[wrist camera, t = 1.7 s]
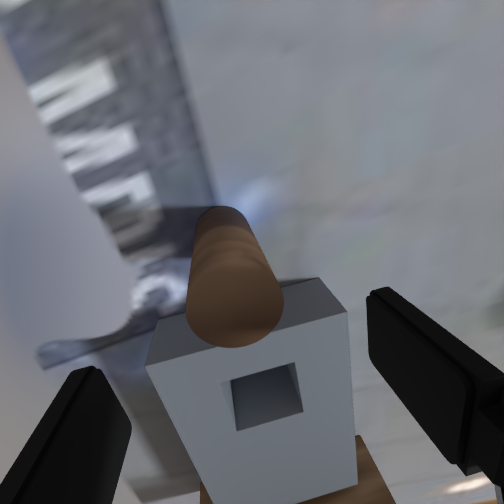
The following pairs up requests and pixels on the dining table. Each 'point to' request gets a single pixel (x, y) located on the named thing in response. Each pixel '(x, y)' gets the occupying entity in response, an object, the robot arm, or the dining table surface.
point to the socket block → (264, 402)
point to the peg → (230, 283)
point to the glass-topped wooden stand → (351, 498)
